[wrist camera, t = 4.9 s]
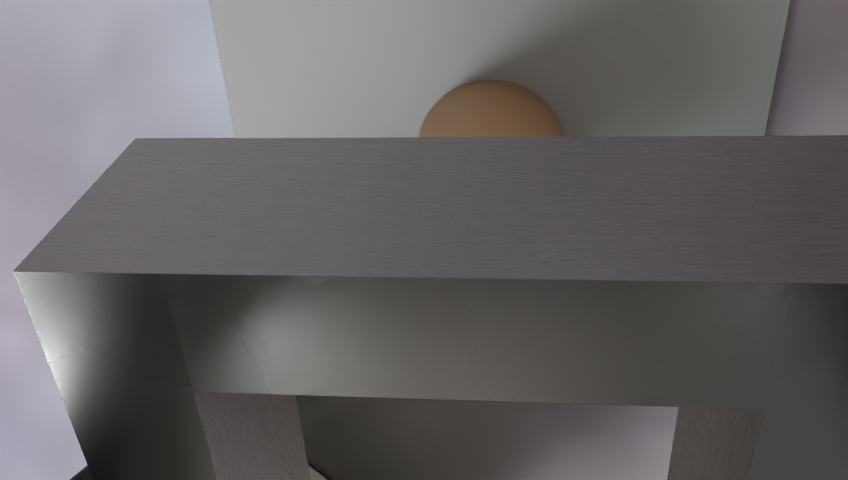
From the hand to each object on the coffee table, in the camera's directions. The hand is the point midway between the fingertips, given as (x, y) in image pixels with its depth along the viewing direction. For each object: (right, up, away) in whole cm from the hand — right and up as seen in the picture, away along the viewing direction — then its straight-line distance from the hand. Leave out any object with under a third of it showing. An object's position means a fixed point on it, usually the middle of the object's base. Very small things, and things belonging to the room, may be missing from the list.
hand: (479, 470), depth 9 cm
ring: (0, +1, +1) cm, 1 cm away
